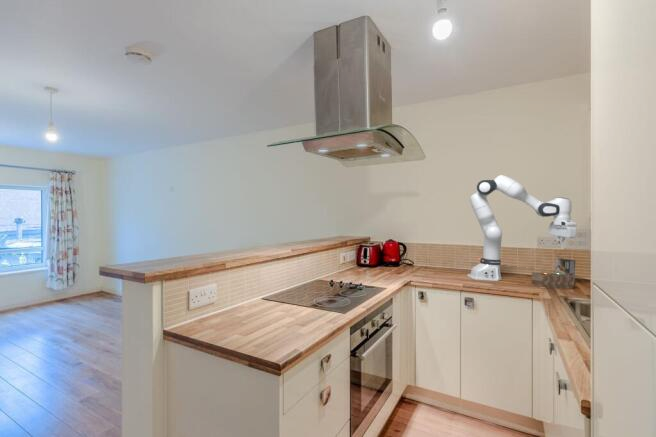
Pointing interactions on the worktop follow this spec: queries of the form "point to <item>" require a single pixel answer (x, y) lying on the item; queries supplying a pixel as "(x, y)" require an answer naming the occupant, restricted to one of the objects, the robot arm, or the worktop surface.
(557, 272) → the peg
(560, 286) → the socket block
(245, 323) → the worktop surface
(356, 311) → the worktop surface
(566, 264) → the coffee box
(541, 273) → the peg
